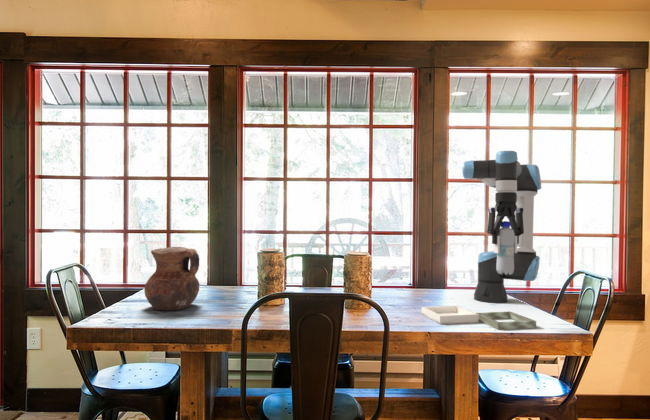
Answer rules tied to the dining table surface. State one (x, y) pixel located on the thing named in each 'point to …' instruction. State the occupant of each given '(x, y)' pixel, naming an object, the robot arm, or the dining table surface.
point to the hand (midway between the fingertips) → (505, 252)
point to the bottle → (506, 249)
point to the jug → (173, 278)
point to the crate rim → (517, 324)
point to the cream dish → (450, 314)
